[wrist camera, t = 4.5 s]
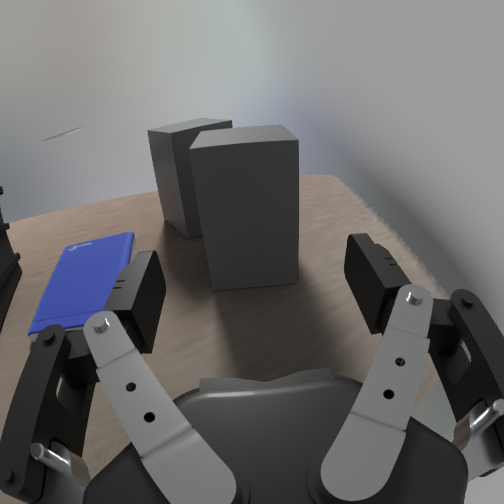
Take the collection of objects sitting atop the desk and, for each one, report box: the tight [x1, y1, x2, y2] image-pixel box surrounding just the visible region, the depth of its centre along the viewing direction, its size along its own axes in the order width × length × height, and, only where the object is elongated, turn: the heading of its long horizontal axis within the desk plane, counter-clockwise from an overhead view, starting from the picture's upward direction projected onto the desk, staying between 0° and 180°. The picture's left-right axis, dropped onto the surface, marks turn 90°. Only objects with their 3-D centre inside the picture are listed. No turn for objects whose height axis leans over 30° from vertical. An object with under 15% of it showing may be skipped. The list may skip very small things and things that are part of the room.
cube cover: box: [189, 125, 299, 291], centre depth 20 cm, size 6×6×10 cm
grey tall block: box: [148, 118, 232, 239], centre depth 28 cm, size 6×6×10 cm
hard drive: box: [28, 232, 136, 342], centre depth 22 cm, size 2×8×12 cm
